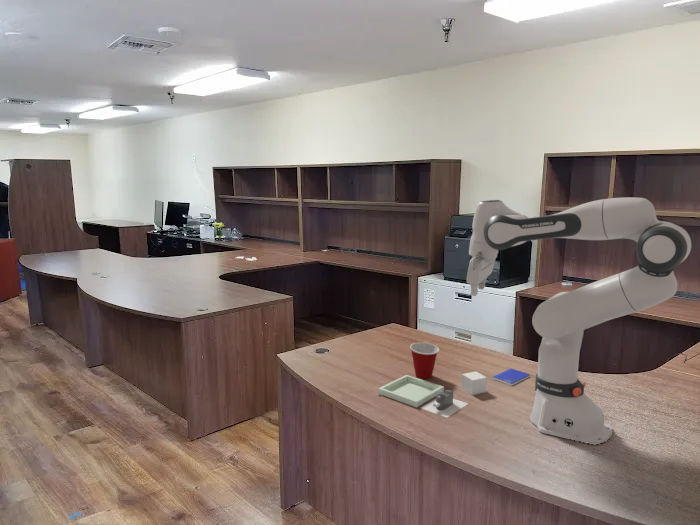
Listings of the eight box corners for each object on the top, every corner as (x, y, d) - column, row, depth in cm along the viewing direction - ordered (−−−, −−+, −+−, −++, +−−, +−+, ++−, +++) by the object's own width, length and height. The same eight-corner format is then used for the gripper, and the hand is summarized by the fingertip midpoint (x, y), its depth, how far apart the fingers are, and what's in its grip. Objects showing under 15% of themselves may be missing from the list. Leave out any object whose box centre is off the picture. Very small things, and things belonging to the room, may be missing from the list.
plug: (446, 400, 165) (447, 389, 164) (454, 403, 163) (454, 391, 162) (430, 410, 158) (431, 398, 157) (438, 413, 156) (439, 401, 155)
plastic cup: (430, 386, 178) (430, 353, 176) (404, 379, 184) (404, 348, 182) (444, 376, 186) (444, 345, 184) (418, 370, 193) (419, 340, 191)
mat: (468, 405, 162) (468, 403, 162) (446, 419, 153) (446, 417, 153) (442, 396, 169) (442, 394, 169) (420, 409, 160) (420, 407, 160)
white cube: (486, 394, 171) (486, 377, 170) (471, 397, 169) (472, 380, 168) (475, 387, 176) (476, 371, 175) (461, 390, 174) (461, 374, 173)
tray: (443, 393, 171) (443, 386, 171) (416, 409, 160) (416, 401, 160) (406, 381, 182) (406, 374, 182) (378, 395, 171) (378, 388, 170)
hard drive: (511, 383, 177) (530, 374, 185) (491, 376, 183) (510, 368, 191) (511, 387, 177) (529, 378, 185) (491, 380, 183) (510, 371, 191)
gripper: (485, 257, 148) (479, 301, 151) (500, 247, 165) (494, 287, 169) (464, 253, 151) (459, 297, 154) (481, 244, 168) (475, 283, 171)
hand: (477, 292), depth 161 cm, fingers open, 8 cm apart
